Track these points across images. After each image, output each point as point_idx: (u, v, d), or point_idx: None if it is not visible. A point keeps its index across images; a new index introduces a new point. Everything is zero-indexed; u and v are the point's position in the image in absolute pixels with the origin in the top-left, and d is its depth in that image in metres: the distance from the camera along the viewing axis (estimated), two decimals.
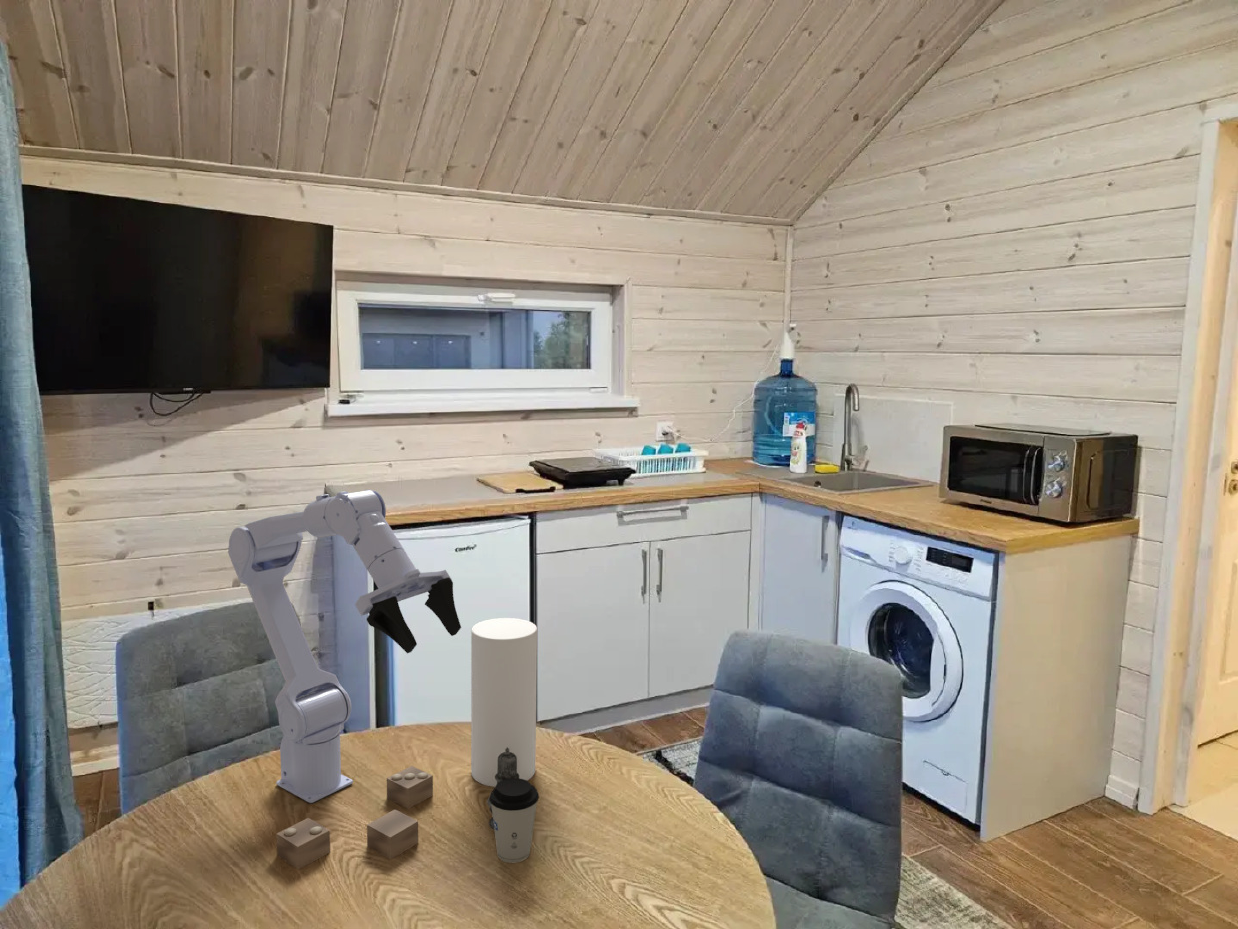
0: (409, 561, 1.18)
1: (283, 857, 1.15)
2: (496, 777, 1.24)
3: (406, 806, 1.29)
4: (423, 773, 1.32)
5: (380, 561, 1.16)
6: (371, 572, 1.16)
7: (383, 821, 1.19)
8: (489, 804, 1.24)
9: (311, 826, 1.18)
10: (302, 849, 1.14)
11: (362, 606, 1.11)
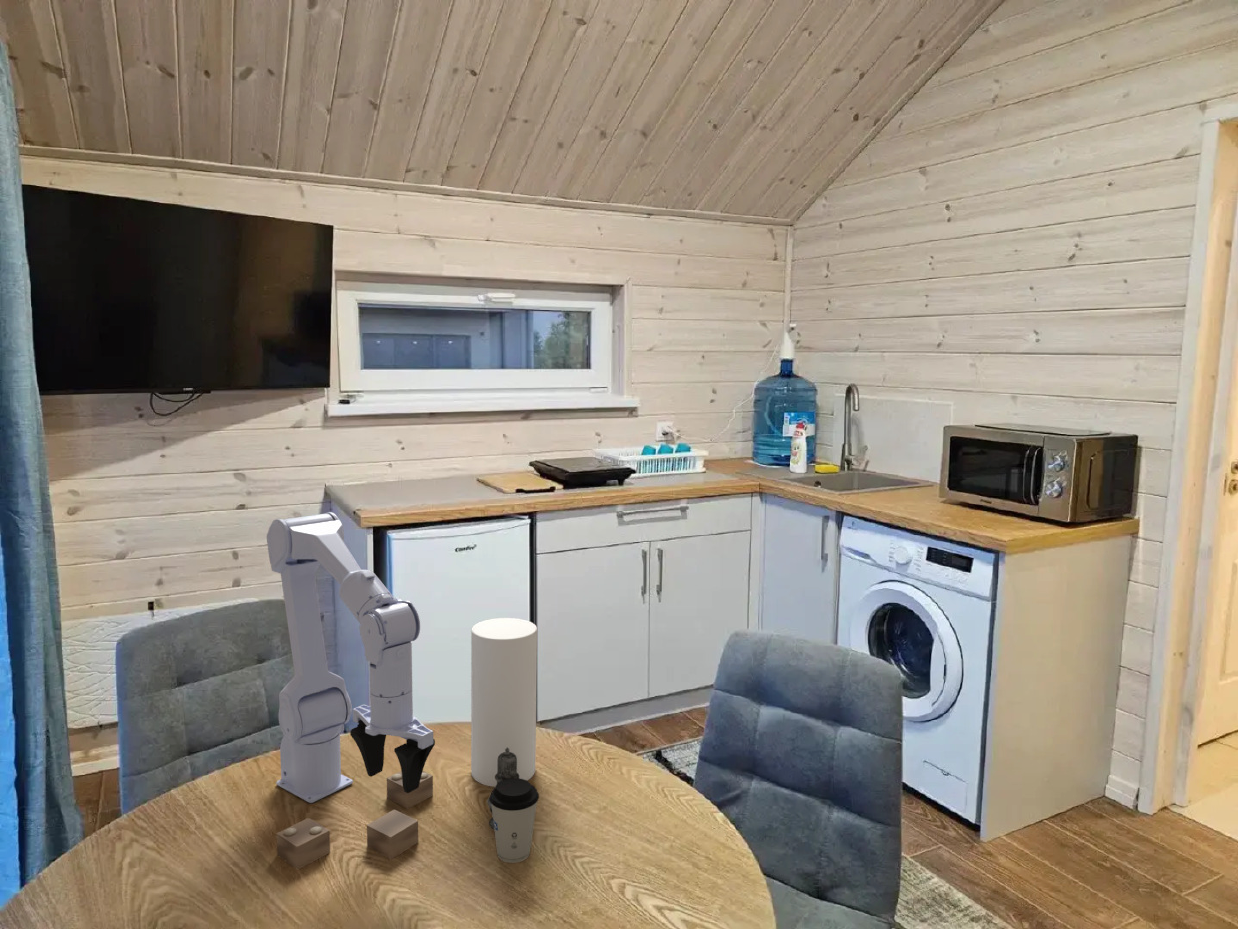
0: (384, 713, 1.14)
1: (283, 857, 1.15)
2: (496, 777, 1.24)
3: (406, 806, 1.29)
4: (423, 773, 1.32)
5: None
6: None
7: (383, 822, 1.19)
8: (489, 804, 1.24)
9: (311, 826, 1.18)
10: (301, 849, 1.14)
11: None
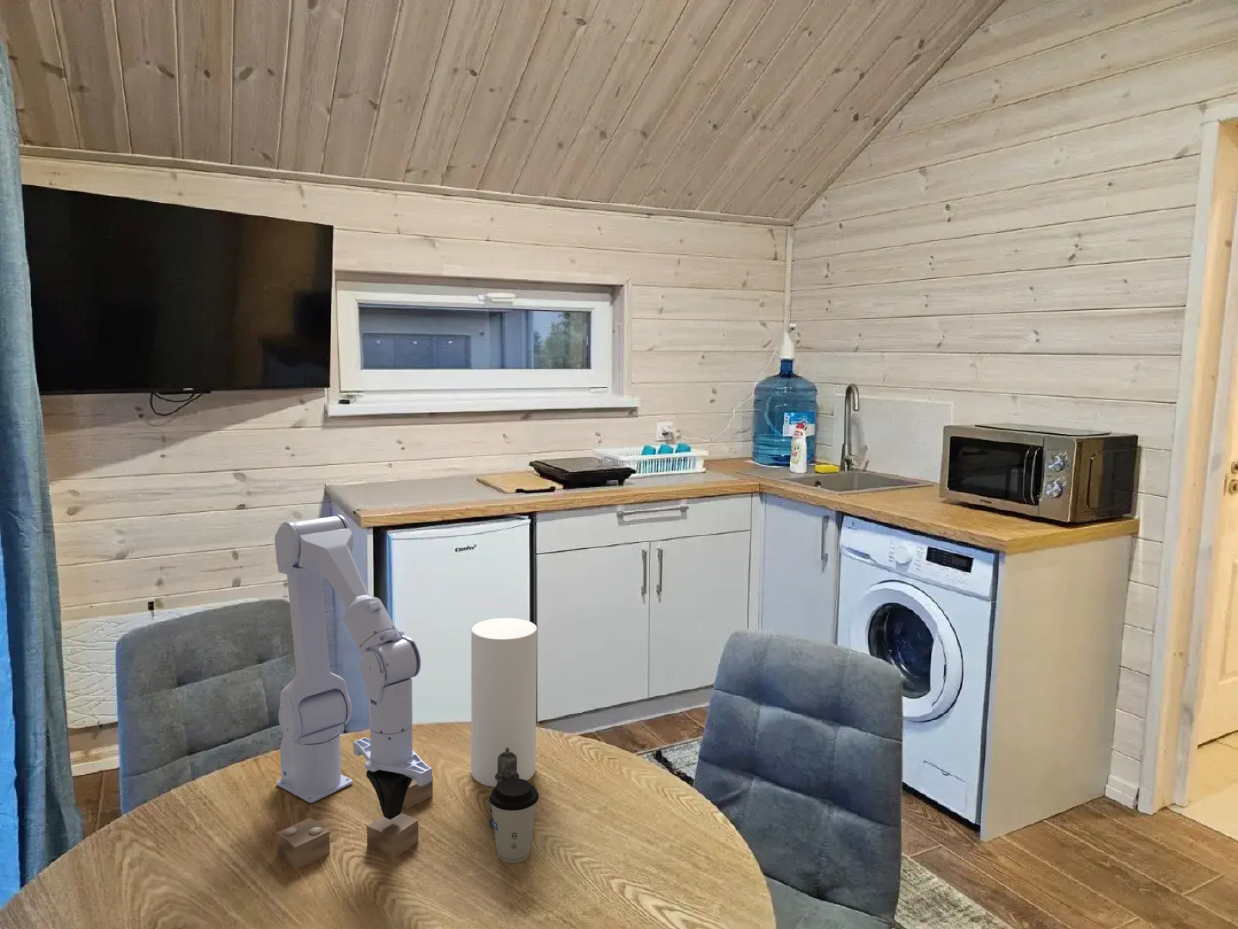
0: (384, 749, 1.15)
1: (283, 856, 1.16)
2: (496, 777, 1.24)
3: (405, 806, 1.29)
4: None
5: None
6: None
7: (383, 822, 1.19)
8: (489, 804, 1.24)
9: (312, 826, 1.18)
10: (299, 850, 1.13)
11: None
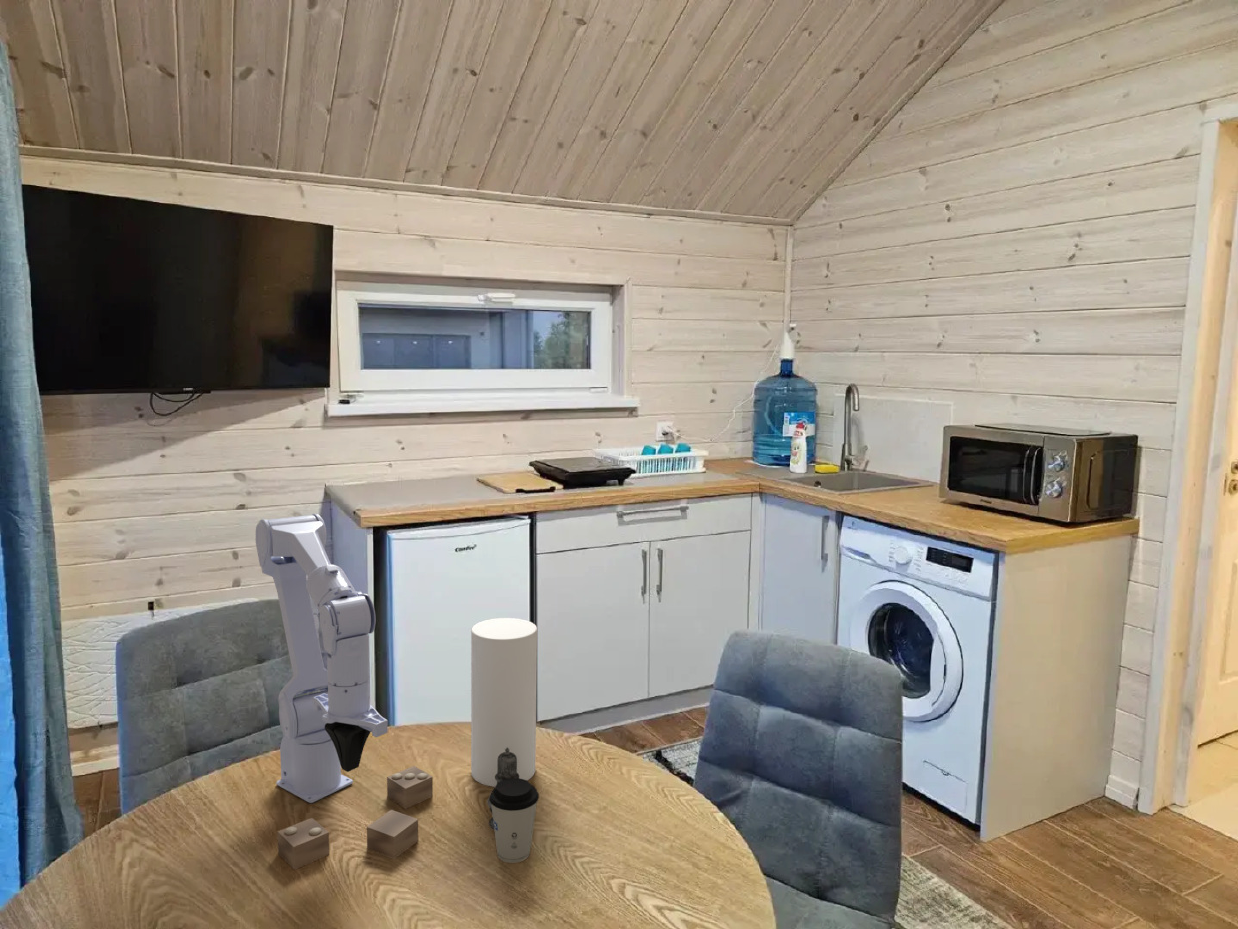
0: (340, 702, 1.18)
1: (283, 855, 1.16)
2: (496, 777, 1.24)
3: (404, 806, 1.29)
4: (423, 774, 1.32)
5: None
6: None
7: (382, 822, 1.19)
8: (489, 804, 1.24)
9: (312, 826, 1.18)
10: (298, 850, 1.13)
11: None
